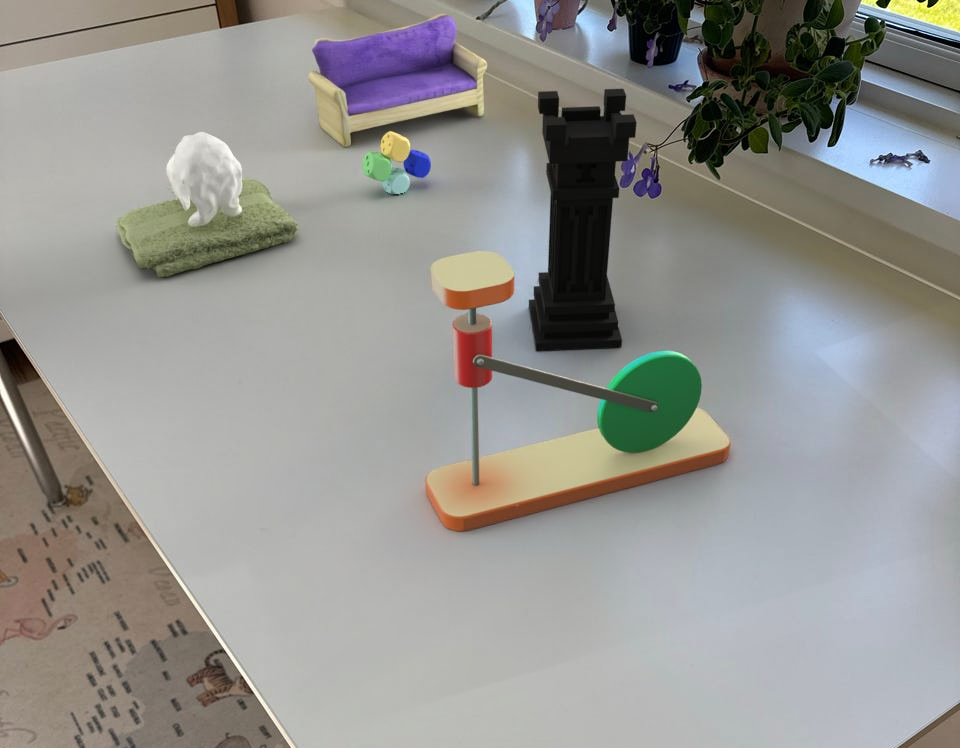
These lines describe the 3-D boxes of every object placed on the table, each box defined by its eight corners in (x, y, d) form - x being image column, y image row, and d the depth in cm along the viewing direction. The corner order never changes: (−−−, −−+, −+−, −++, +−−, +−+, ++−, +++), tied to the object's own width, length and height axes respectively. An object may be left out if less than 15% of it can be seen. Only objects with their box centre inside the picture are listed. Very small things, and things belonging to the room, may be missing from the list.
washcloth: (112, 234, 114) (104, 205, 112) (264, 198, 120) (259, 170, 117) (144, 286, 106) (136, 256, 104) (306, 245, 112) (301, 216, 109)
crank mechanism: (448, 535, 79) (437, 304, 65) (421, 484, 84) (404, 257, 69) (735, 459, 85) (781, 232, 71) (695, 415, 89) (732, 193, 75)
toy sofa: (340, 150, 128) (329, 60, 121) (313, 126, 134) (302, 39, 126) (489, 117, 135) (488, 29, 127) (458, 95, 140) (455, 10, 133)
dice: (423, 177, 123) (420, 120, 118) (434, 185, 121) (431, 128, 117) (362, 193, 120) (356, 136, 115) (372, 201, 119) (367, 144, 114)
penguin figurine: (178, 149, 100) (136, 122, 108) (200, 237, 106) (158, 206, 113) (238, 134, 102) (193, 108, 110) (257, 221, 108) (212, 191, 116)
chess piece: (535, 351, 97) (541, 127, 82) (528, 307, 102) (533, 90, 88) (621, 347, 97) (642, 123, 82) (609, 303, 102) (627, 86, 88)
